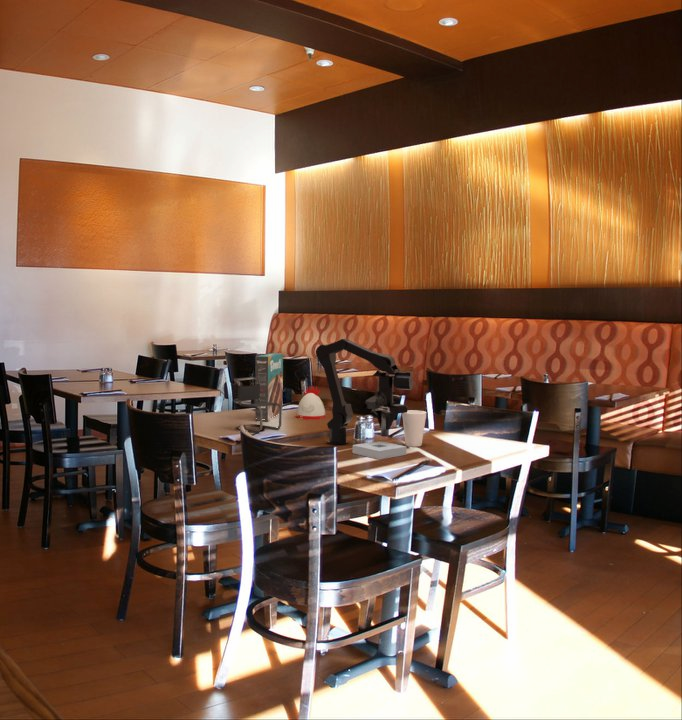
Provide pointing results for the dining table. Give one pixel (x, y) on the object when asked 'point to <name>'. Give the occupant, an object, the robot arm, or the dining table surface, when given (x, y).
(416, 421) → the foam cup
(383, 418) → the pin
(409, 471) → the dining table surface
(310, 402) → the kitchen timer
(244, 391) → the chair
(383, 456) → the socket block
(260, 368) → the cake mix box
